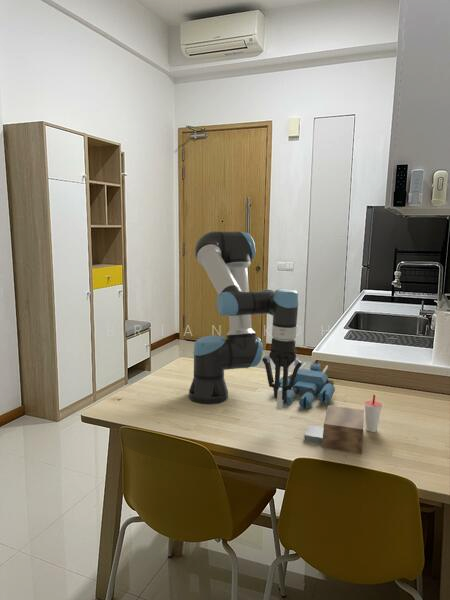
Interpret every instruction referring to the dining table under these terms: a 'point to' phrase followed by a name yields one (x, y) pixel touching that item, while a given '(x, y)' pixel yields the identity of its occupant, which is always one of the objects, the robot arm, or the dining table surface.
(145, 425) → the dining table surface
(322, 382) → the toy
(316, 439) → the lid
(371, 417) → the cup
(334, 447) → the brown wooden block
